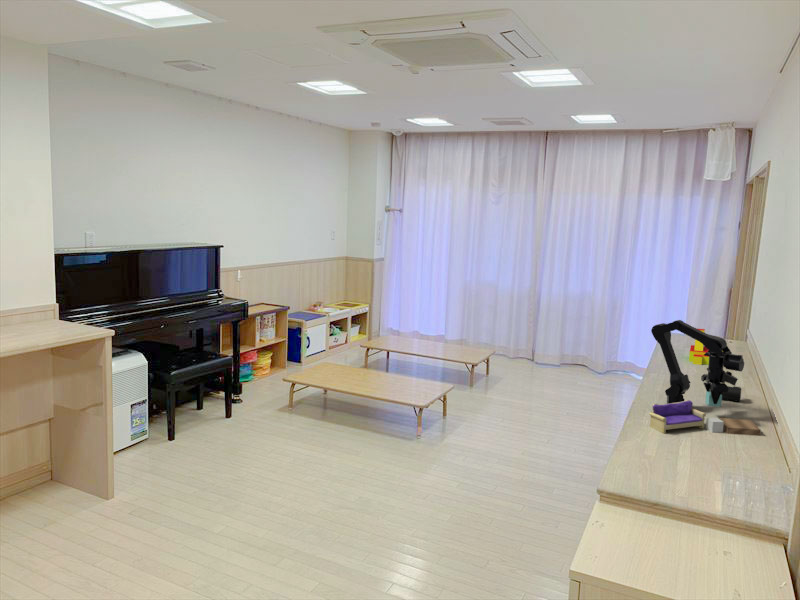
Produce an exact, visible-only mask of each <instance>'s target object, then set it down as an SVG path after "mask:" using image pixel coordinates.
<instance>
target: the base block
mask: <svg viewBox="0 0 800 600" xmlns="http://www.w3.org/2000/svg"><path fill="white" fill-rule="evenodd" d="M718 419H720V420H722V421H723V422H724V424H723V432H725V433H726V434H729V435H744V436H756V437H757V436H758V437H761V429H760V428H759V427H758V426H757V425H756V424H755V423H754V422H753V421H752V420H751V419H741V418H728V417H727V418H725V417H718Z"/></svg>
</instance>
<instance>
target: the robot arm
mask: <svg viewBox="0 0 800 600" xmlns="http://www.w3.org/2000/svg"><path fill="white" fill-rule="evenodd" d="M698 329H699V328H696V327H694V326H693V325H692V326H691V324H688V323H686V322H685V321H684V320H682V319H677V320H674V321H672V322H668V323H664V322H663V323H659V324H655V325H653V326H652V328H651V329H650V330H651V334H652V336H653V338H654V340H655V341H656V342H657V343H658V345H660V349H661V351H662V355H663V357H664V360H665V363H666V366H667V369H668V372H669V375H670V376H669V385H670V387H668V388H666V390H664V391H665V392H664V393H665V395H666V404H670V403H677V402H683V401H685V398H684V395H685V394H686V392H687V391H689V390H690V388H691V381H690V379H689V375H688V374H684V373H683V372H682V370H681V367H680V365H679V362H678V359H677V356H676V352H675V350H674V347H673V344H672V341H671V340H672V333H671V332H672V331H676V330H677V331H679V332H680V333H682V334H684V335H686V336H688V337H690V338H692V339H693V340H694V341H695V340H697V341H699V342H701V343H702V344H703V345H704V346H705V347H706V348H707V349H708V352H706V353H705V354H704V355H705V356H709V365H708V367H706V371H707V373H706V374H705V373H704V374H702V375H701V377H700V378H701V379H700V381H702V382H703V385H704V388H705V391H706V392H710V393H711V397H712V400H713V403H714V404H717V402H718V400H719V397H720V395H721V393H723V392H729V387H730V386H729V387H728V385H727V384H730V385H732V386H733V387H734V386H735V387H736V384H737V382H738V380H739V379H738V378H737V377H736V376H734V375H733V374H732V372H731V371H735V372H742V371H743V370H744V368H745V360H744V358H743V356H744V355H742V354H733V353H732V351H731V349H730V348H729V346H728V344H727V340H726V339H725V338H722V337H719V336H717V335H712V334H709V333H706V332H705V333H704V332H702V331H700V330H698ZM724 368H725V369H726V370H727V371H725V370H724ZM729 370H730V371H729ZM726 383H727V384H726Z"/></svg>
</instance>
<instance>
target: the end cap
mask: <svg viewBox="0 0 800 600" xmlns="http://www.w3.org/2000/svg"><path fill="white" fill-rule="evenodd" d="M727 386H728V385H727ZM728 387H729V392H723V393H721V395H722V401H730V402H736V403H737V402H738V403H740V402H741V400H742V399H741V397H742V388H741V387H740V386H736V385H735V386H734V385H733V386H728Z"/></svg>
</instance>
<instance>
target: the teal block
mask: <svg viewBox="0 0 800 600" xmlns="http://www.w3.org/2000/svg"><path fill="white" fill-rule="evenodd" d="M722 401H723V399H722V395H720V397H719V400H718V402H717V404H714V403H713V400H712V397H711V393H710V392H707V391H706V392H705V401H704V403H705V404H706V405H707V406H708V407H718V408H719V407H720V408H721V407H722Z"/></svg>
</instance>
